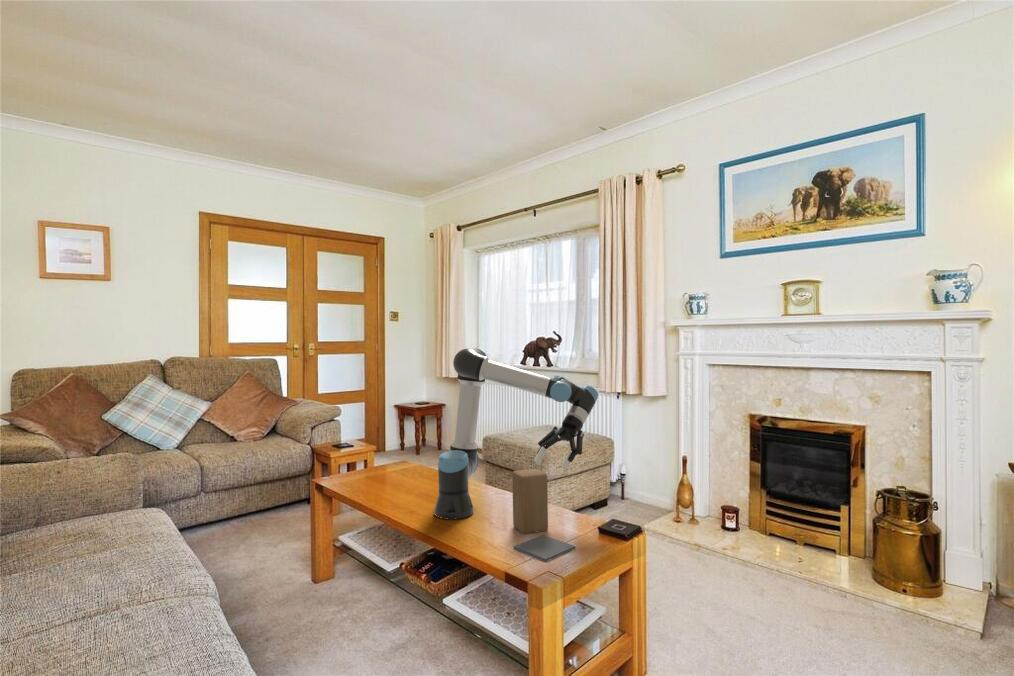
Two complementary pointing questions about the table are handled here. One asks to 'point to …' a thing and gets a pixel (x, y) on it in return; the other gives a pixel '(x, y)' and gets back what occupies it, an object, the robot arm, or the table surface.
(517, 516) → the wooden block
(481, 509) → the table surface
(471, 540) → the table surface
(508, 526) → the table surface
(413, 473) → the table surface
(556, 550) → the mat
